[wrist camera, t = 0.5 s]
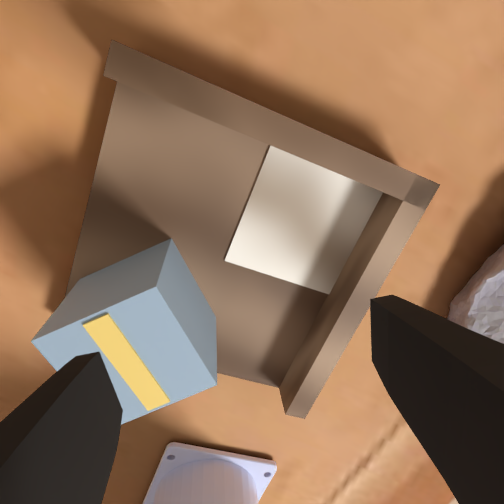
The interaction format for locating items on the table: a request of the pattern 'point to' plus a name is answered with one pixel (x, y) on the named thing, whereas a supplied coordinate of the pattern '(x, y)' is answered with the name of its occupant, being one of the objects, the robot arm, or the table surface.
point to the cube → (139, 329)
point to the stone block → (483, 300)
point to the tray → (248, 219)
